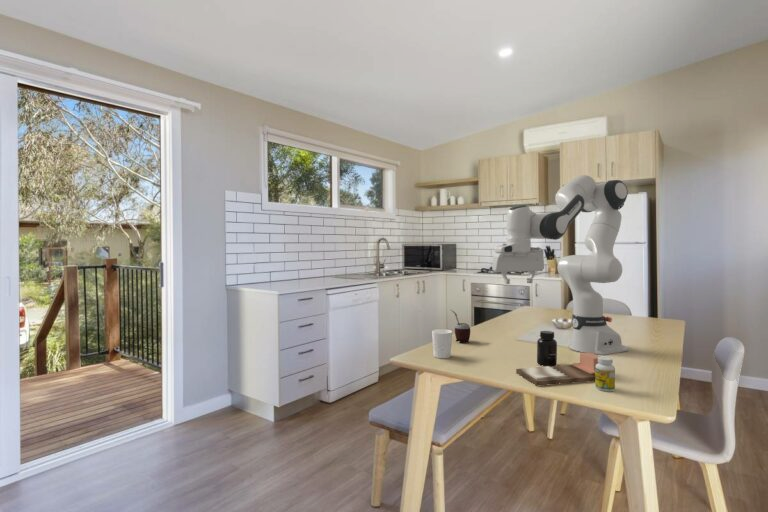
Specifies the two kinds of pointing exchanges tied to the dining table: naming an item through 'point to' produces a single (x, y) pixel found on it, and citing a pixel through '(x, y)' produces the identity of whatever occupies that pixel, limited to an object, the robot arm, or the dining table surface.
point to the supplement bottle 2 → (605, 374)
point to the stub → (587, 362)
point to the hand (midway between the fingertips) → (518, 283)
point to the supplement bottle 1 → (547, 349)
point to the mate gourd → (462, 331)
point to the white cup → (442, 343)
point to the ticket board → (555, 374)
